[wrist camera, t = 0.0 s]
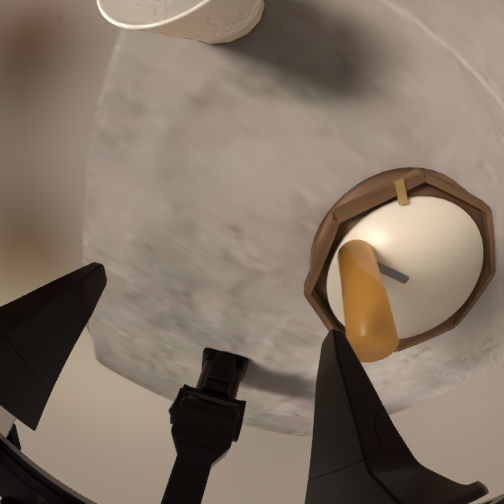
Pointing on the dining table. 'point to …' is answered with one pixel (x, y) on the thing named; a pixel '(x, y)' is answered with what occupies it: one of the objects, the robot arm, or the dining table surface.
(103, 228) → the dining table surface
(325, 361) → the robot arm
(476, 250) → the dial
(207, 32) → the white cup
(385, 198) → the dial housing
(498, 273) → the dining table surface
